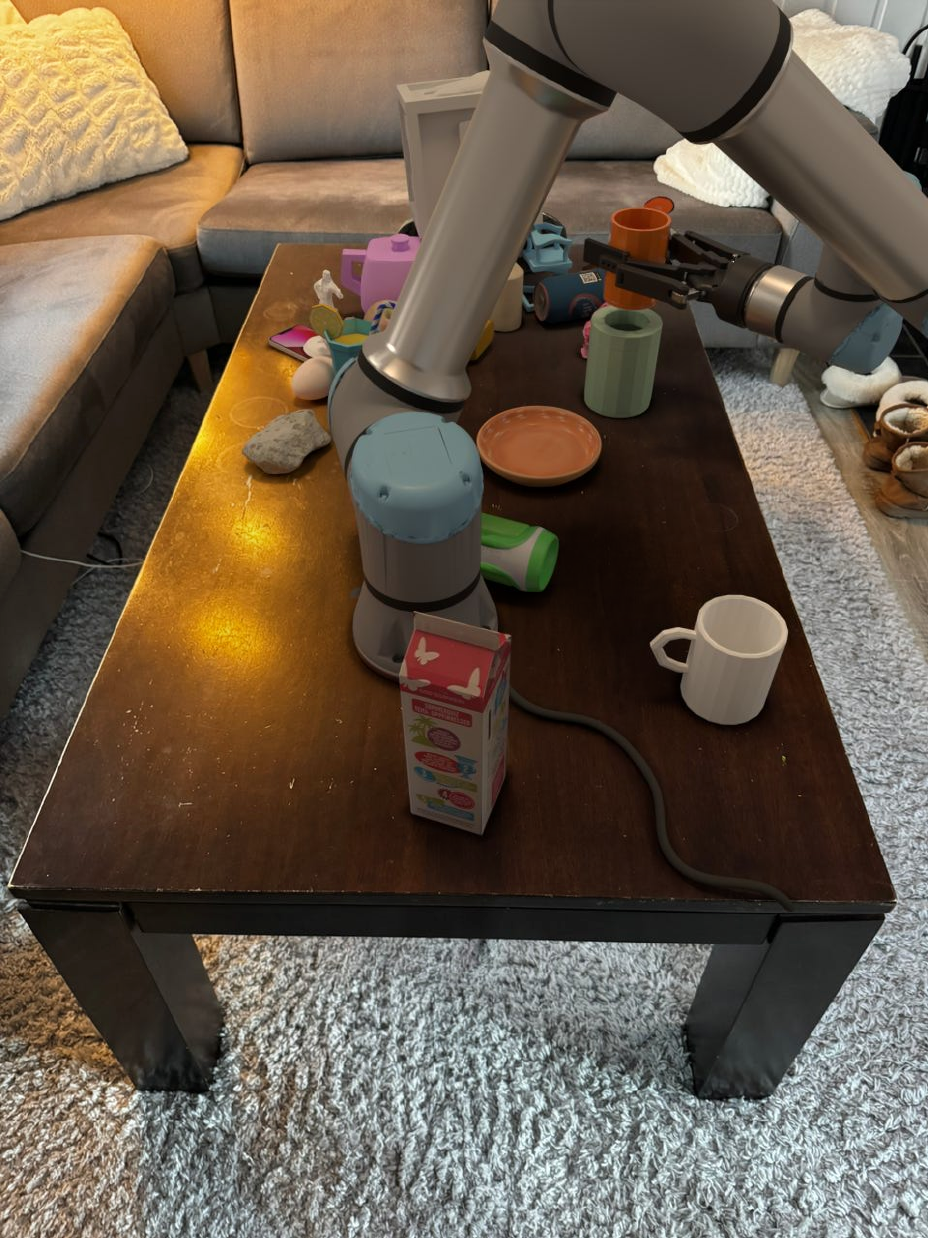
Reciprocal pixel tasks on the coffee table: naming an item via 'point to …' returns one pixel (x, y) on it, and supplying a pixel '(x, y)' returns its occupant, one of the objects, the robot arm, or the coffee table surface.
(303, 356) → the smartphone
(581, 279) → the soda can
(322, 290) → the figurine
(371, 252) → the teapot
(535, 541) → the speaker
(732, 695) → the mug
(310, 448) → the decorative stone
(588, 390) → the green jar
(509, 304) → the candle
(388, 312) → the apple
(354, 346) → the cup
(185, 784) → the coffee table surface
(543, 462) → the saucer
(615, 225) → the orange cup
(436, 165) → the decorative block
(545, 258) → the phone stand
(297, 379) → the egg
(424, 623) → the juice carton
